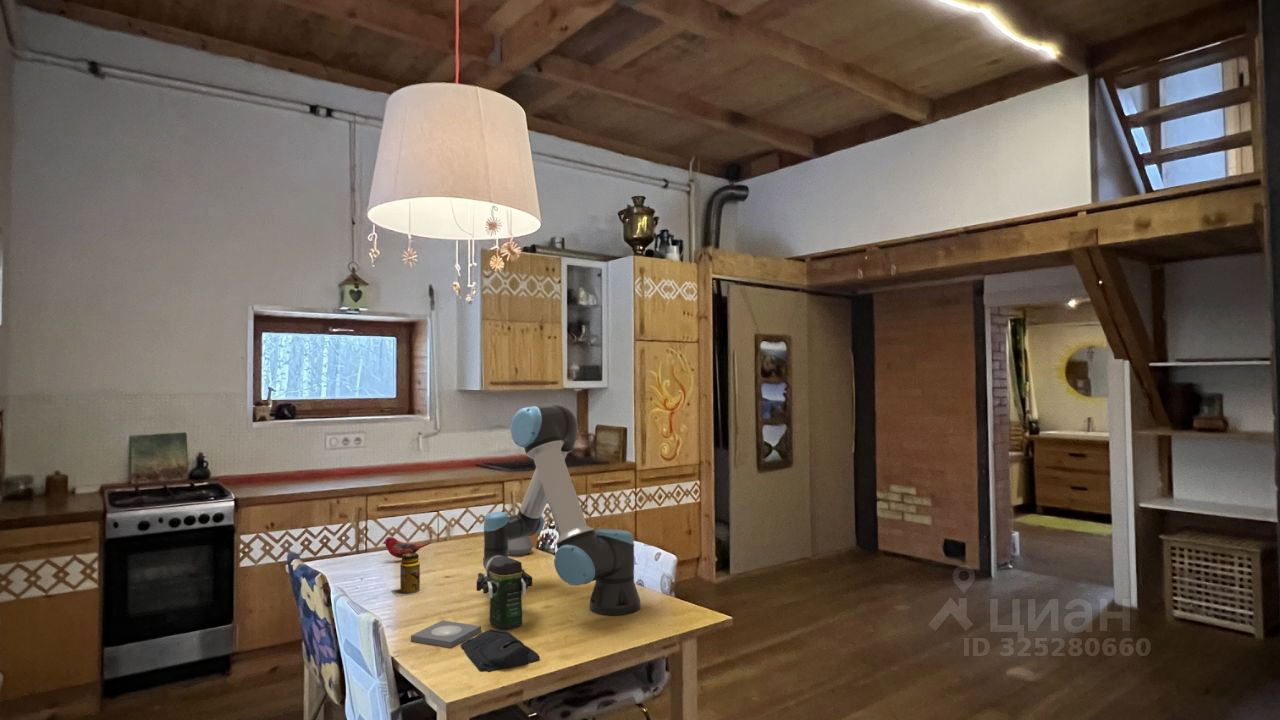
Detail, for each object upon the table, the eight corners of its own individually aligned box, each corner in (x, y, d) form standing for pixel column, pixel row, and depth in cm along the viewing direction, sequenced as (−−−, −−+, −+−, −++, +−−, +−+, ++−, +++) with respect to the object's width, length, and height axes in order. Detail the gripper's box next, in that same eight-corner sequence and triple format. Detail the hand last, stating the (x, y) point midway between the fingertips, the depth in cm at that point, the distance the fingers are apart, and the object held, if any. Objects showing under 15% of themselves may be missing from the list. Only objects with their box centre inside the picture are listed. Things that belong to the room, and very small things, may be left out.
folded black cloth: (513, 636, 197) (513, 618, 197) (543, 663, 178) (543, 644, 178) (456, 647, 190) (456, 628, 190) (481, 676, 171) (481, 656, 171)
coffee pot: (498, 553, 289) (497, 515, 290) (523, 548, 297) (523, 511, 297) (526, 563, 273) (526, 523, 273) (552, 558, 280) (552, 519, 281)
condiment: (423, 592, 237) (423, 555, 238) (397, 596, 233) (397, 558, 233) (416, 587, 244) (416, 550, 244) (390, 591, 239) (390, 554, 239)
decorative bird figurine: (382, 563, 275) (382, 536, 275) (430, 558, 282) (430, 532, 283) (382, 565, 272) (382, 538, 273) (431, 559, 280) (431, 533, 280)
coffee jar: (526, 626, 204) (526, 559, 204) (500, 632, 199) (500, 563, 200) (510, 617, 212) (510, 552, 212) (485, 622, 207) (485, 556, 207)
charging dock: (481, 631, 200) (481, 626, 200) (451, 647, 188) (451, 641, 188) (442, 625, 205) (442, 620, 205) (410, 641, 193) (410, 635, 193)
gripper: (534, 580, 226) (546, 601, 204) (463, 586, 220) (468, 608, 198) (534, 555, 226) (546, 574, 204) (463, 561, 220) (468, 580, 198)
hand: (507, 591), depth 201 cm, fingers closed on coffee jar, 8 cm apart
